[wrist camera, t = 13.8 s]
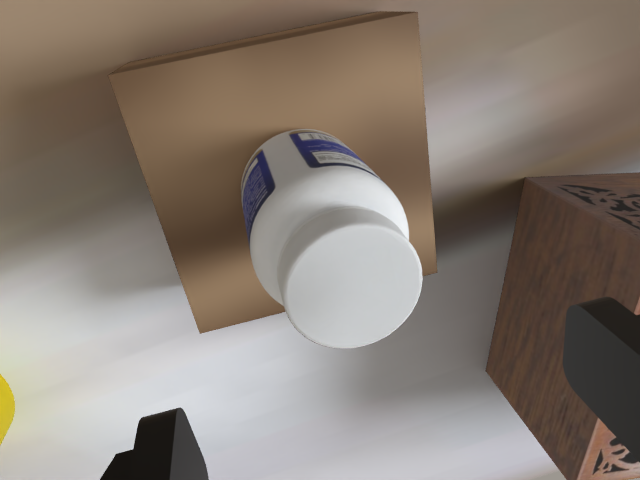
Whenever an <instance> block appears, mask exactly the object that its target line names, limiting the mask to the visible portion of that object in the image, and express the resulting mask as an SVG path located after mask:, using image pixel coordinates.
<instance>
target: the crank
mask: <svg viewBox="0 0 640 480" xmlns="http://www.w3.org/2000/svg"><path fill="white" fill-rule="evenodd" d="M14 412H15V401H14V397H13V394H12V391H11V389H10V387H9V385H8V383H7V382H6V381H5V379H4V378H3V377H2V376H1V374H0V445H1V443H2V441H3V439H4V437H5V435H6V433H7V431H8V429H9V427H10V425H11V423H12V420H13V417H14Z"/></svg>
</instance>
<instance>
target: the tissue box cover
mask: <svg viewBox="0 0 640 480" xmlns="http://www.w3.org/2000/svg"><path fill="white" fill-rule="evenodd" d="M601 297H611V298H613V299H615V300H617V301H618V302H619V303H621V304H622V305H623V306H625V307H626V308H627V309H629V310H630V311H631V312H633V313H634V314H635V315H639V314H640V173H617V174H594V175H571V176H548V177H525V181H524V186H523V191H522V196H521V200H520V205H519V210H518V215H517V220H516V225H515V230H514V235H513V240H512V244H511V249H510V254H509V259H508V264H507V269H506V274H505V279H504V284H503V288H502V293H501V298H500V303H499V308H498V313H497V318H496V323H495V327H494V332H493V337H492V342H491V347H490V352H489V357H488V362H487V367H486V372H487V373H488V375H489V376H490V377H491V379H492V380H493V382H494V383H495V384H496V386H497V387H498V388H499V390H500V391H501V392H502V394H503V395H504V396H505V398H506V399H507V400H508V402H509V403H510V404H511V406H512V407H513V408H514V410H515V411H516V412H517V414H518V415H519V416H520V418H521V419H522V420H523V422H524V423H525V424H526V426H527V427H528V428H529V430H530V431H531V432H532V434H533V435H534V437H535V438H536V439H537V441H538V442H539V443H540V445H541V446H542V447H543V449H544V450H545V451H546V453H547V454H548V455H549V457H550V458H551V459H552V461H553V462H554V463H555V465H556V466H557V467H558V469H559V470H560V471H561V473H562V474H563V475H564V477H565V478H566V479H567V480H628V479H634V478H640V462H639V461H638V460H637V459H636V458H635V457H634V456H633V455H632V454H631V453H630V452H629V451H628V449H627V448H626V447H625V446H624V445H623V444H622V443H621V442H620V441H619V440H618V439H617V437H616V436H615V435H614V434H613V433H612V432H611V431H610V430H609V429H608V428H607V427H606V425H605V424H604V423H603V422H602V421H601V420H600V419H599V418H598V417H597V416H596V415H595V413H594V412H593V411H592V410H591V409H590V408H589V407H588V406H587V405H586V404H585V403H584V402H583V400H582V399H581V398H580V397H579V396H578V395H577V394H576V393H575V392H574V390H573V389H572V388H571V386H570V384H569V383H568V380H567V378H566V376H565V373H564V369H563V349H564V336H565V323H566V313H567V310H568V308H569V307H570V306H572V305H575V304H579V303H582V302H586V301H590V300H594V299H598V298H601Z"/></svg>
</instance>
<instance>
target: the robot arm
mask: <svg viewBox="0 0 640 480" xmlns="http://www.w3.org/2000/svg"><path fill="white" fill-rule="evenodd" d="M563 369H564V373H565V376H566V378H567V380H568V383H569V384H570V386H571V388H572V389H573V390H574V392H575V393H576V394H577V395H578V396H579V397H580V398H581V399H582V400H583V402H584V403H585V404H586V405H587V406H588V407H589V408H590V409H591V410H592V411H593V412H594V413H595V415H596V416H597V417H598V418H599V419H600V420H601V421H602V422H603V423H604V424H605V425H606V427H607V428H608V429H609V430H610V431H611V432H612V433H613V434H614V435H615V436H616V437H617V439H618V440H619V441H620V442H621V443H622V444H623V445H624V446H625V447H626V448H627V449H628V451H629V452H630V453H631V454H632V455H633V456H634V457H635V458H636V459H637V460H638V461H639V462H640V314H639V315H635V314H634V313H633V312H631V311H630V310H629V309H627V308H626V307H625V306H623V305H622V304H621V303H619V302H618V301H617V300H615V299H613V298H611V297H601V298H598V299H594V300H590V301H586V302H582V303H579V304H575V305H572V306H570V307H569V308H568V310H567V313H566V323H565V336H564V349H563ZM100 480H209V479H208V473H207V468H206V464H205V461H204V458H203V455H202V453H201V451H200V448H199V446H198V443H197V441H196V438H195V436H194V434H193V431H192V429H191V426H190V424H189V421H188V419H187V417H186V414H185V412H184V410H183V409H182V408H176V409H173V410H169V411H165V412H161V413H157V414H154V415H150V416H146V417H142V418H141V419H140V421H139V423H138V428H137V433H136V438H135V444H134V449H133V450H129V451H125V452H122V453H118V454H116V455H115V457H114V458H113V460H112V462H111V463H110V465H109V466H108V468H107V469H106V471H105V473H104V474H103V476H102V477H101V479H100Z"/></svg>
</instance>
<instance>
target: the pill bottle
mask: <svg viewBox="0 0 640 480" xmlns="http://www.w3.org/2000/svg"><path fill="white" fill-rule="evenodd" d="M241 201H242V207H243V213H244V219H245V225H246V231H247V237H248V243H249V249H250V255H251V259H252V263H253V267H254V270H255V273H256V275H257V277H258V279H259V281H260V283H261V284H262V286H263V287H264V289H265V290H266V291H267V293H268V294H269V295H270V296H271V297H272V298H273V299H274V300H276V301H277V302H278V303H280V304H281V305H283V306H284V308H285V311H286V313H287V316H288V318H289V319H290V321H291V323H292V324H293V326H294V327H295V328H296V329H297V330H298V331H299V332H300V333H301V334H302V335H303V336H304V337H306V338H307V339H309V340H311V341H313V342H314V343H317V344H320V345H323V346H326V347H331V348H338V349H348V348H357V347H362V346H366V345H369V344H372V343H374V342H377V341H379V340H381V339H383V338H385V337H387V336H388V335H390V334H391V333H392V332H393V331H395V330H396V329H397V328H398V327H399V326H400V325H401V324H402V323H403V322H404V321H405V320H406V319H407V318H408V317H409V315H410V314H411V312H412V311H413V309H414V307H415V305H416V303H417V301H418V298H419V296H420V292H421V288H422V280H423V277H422V267H421V263H420V260H419V257H418V255H417V253H416V250H415V249H414V247H413V246H412V244H411V243H410V242H409V229H408V222H407V218H406V215H405V212H404V209H403V207H402V205H401V203H400V202H399V200H398V198H397V197H396V196H395V194H394V193H393V192H392V190H391V189H390V188H389V187H388V186H387V185H386V184H385V182H383V181H382V180H381V179H380V177H378V176H377V175H376V174H375V173H374V172H373V171H372V170H371V169H370V168H369V167H368V166H367V165H366V164H365V163H364V162H363V161H362V160H361V159H360V158H359V157H358V156H357V155H356V154H355V153H354V152H353V151H352V150H351V149H350V148H349V147H348V146H347V145H345V144H344V143H343V142H342V141H340V140H339V139H337V138H336V137H334V136H332V135H330V134H328V133H325V132H322V131H318V130H313V129H297V130H291V131H287V132H284V133H281V134H278V135H276V136H274V137H272V138H271V139H269V140H267V141H266V142H265V143H264V144H262V145H261V146H260V147H259V148H258V149H257V150H256V151H255V153H254V154H253V155H252V157H251V158H250V160H249V162H248V163H247V165H246V168H245V170H244V173H243V177H242V181H241Z"/></svg>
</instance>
